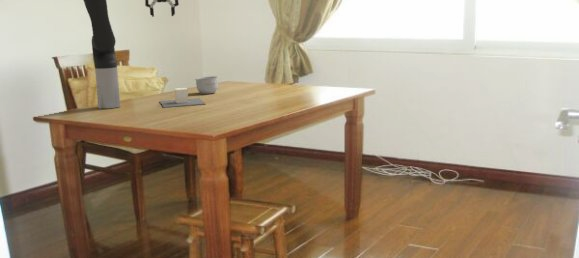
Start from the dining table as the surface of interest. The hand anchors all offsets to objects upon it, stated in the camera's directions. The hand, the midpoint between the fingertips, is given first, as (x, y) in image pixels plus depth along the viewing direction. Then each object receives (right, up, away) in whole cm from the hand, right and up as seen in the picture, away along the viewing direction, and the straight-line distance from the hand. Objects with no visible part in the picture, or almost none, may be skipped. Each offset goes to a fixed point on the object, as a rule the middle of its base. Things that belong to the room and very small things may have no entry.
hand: (162, 16), depth 266 cm
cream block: (+8, -38, +1) cm, 39 cm away
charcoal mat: (+8, -38, +1) cm, 39 cm away
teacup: (+16, -32, +33) cm, 49 cm away
